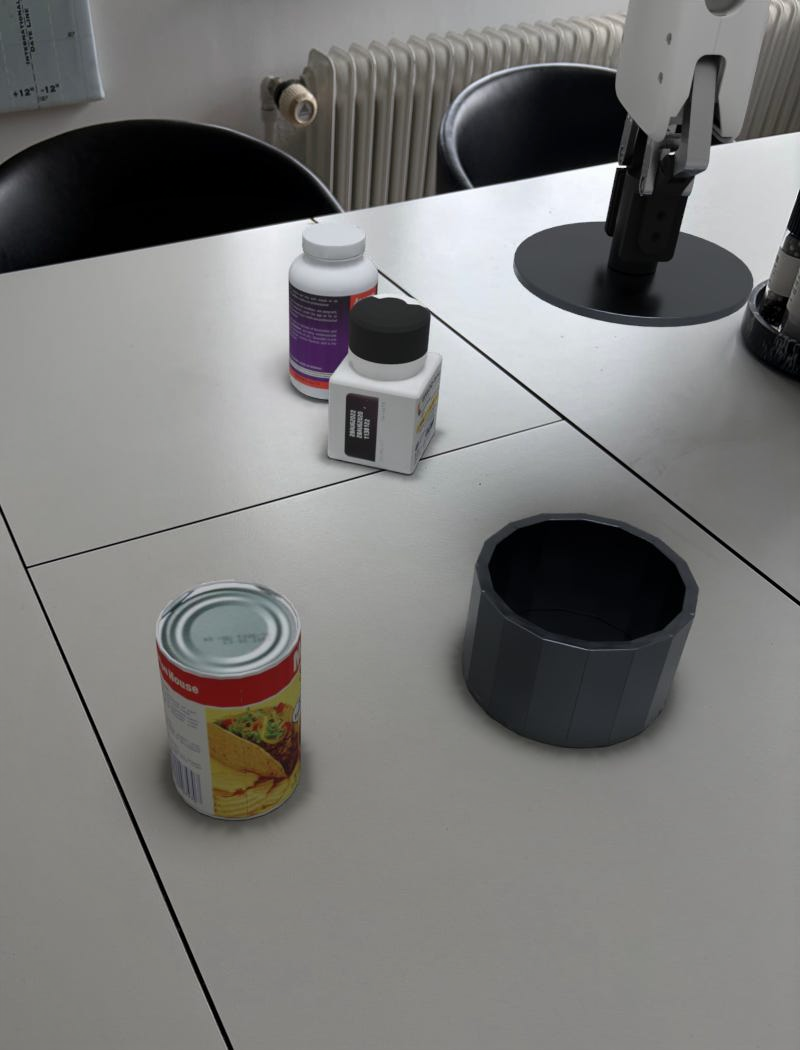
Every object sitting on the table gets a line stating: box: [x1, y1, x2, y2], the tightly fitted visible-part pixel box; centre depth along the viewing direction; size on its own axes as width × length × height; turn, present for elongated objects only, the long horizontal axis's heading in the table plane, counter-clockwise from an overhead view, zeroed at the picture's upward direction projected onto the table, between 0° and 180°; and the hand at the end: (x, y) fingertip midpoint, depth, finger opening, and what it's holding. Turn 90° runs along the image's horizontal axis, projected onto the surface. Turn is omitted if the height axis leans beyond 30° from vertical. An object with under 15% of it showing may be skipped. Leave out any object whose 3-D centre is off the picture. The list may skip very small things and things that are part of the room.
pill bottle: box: [287, 221, 379, 401], centre depth 95 cm, size 8×8×14 cm
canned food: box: [154, 578, 302, 821], centre depth 60 cm, size 8×8×12 cm
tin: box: [461, 512, 700, 749], centre depth 68 cm, size 14×14×8 cm
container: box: [327, 293, 443, 475], centre depth 87 cm, size 8×8×13 cm
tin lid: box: [512, 166, 754, 328], centre depth 63 cm, size 15×15×7 cm
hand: (637, 244), depth 64 cm, fingers closed on tin lid, 3 cm apart
